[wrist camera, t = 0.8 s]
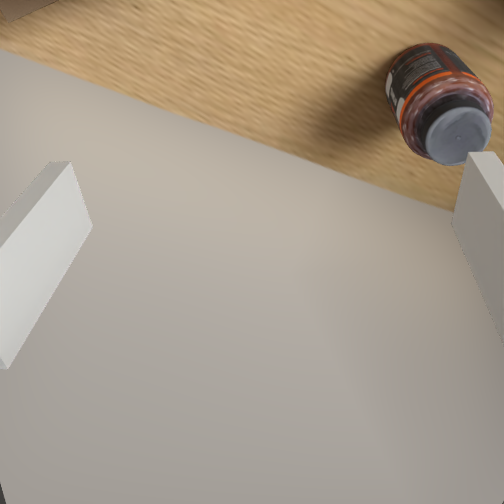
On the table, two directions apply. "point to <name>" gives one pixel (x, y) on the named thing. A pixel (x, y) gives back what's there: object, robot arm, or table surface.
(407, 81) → the supplement bottle
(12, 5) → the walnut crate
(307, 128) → the table surface
